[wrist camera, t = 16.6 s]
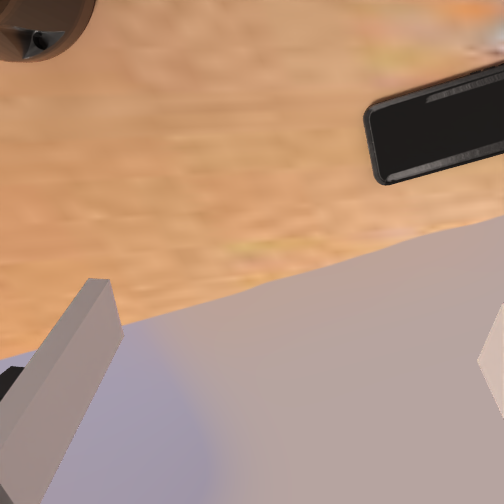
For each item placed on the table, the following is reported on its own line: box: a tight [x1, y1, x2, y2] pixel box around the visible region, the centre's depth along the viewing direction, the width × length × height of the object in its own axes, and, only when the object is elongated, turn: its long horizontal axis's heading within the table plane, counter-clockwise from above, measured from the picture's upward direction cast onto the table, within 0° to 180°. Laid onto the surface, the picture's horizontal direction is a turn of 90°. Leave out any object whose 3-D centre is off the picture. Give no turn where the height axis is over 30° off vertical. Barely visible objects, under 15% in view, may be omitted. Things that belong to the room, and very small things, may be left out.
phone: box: [363, 64, 504, 186], centre depth 38 cm, size 8×1×15 cm
